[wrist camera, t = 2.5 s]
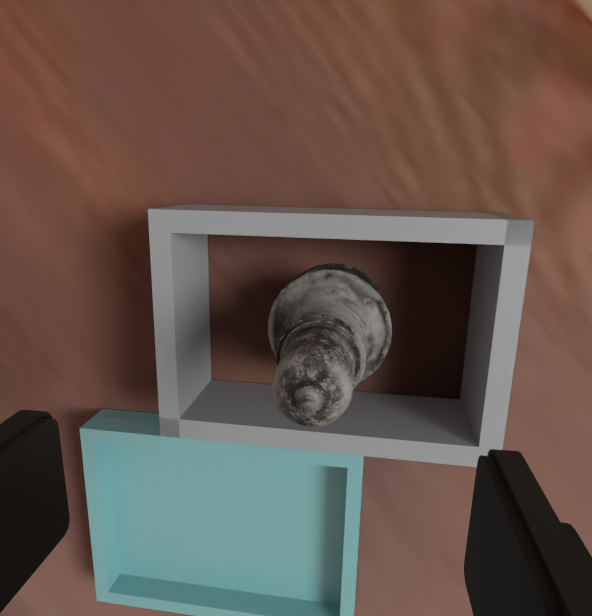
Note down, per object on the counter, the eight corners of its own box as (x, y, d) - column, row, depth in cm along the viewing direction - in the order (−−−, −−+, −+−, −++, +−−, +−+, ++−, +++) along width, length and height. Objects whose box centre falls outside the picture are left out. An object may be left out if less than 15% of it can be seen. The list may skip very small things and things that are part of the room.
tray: (364, 432, 28) (363, 455, 26) (354, 604, 31) (352, 639, 29) (102, 408, 30) (79, 427, 28) (116, 570, 33) (96, 600, 31)
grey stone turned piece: (409, 288, 26) (439, 374, 14) (358, 380, 27) (349, 525, 16) (308, 239, 26) (256, 285, 14) (264, 334, 27) (185, 443, 16)
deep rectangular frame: (502, 212, 24) (534, 220, 19) (476, 417, 27) (499, 469, 22) (188, 204, 26) (147, 208, 21) (195, 394, 29) (160, 436, 24)
